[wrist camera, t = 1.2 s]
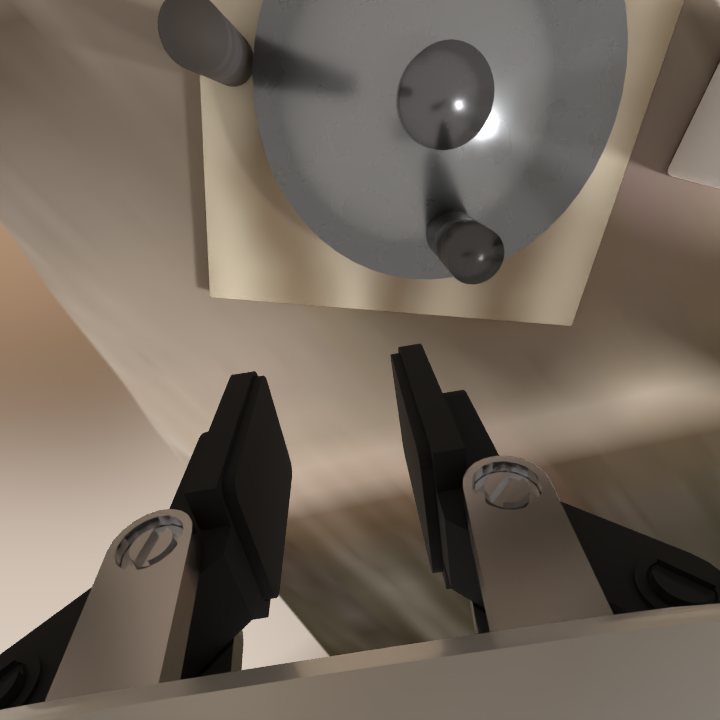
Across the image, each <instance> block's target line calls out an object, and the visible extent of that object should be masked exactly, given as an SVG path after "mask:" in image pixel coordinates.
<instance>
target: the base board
mask: <svg viewBox="0 0 720 720" xmlns="http://www.w3.org/2000/svg"><path fill="white" fill-rule="evenodd" d="M262 3H263V0H165V2H164V3H163V5H162V7H161V9H160V12H159V16H158V30H159V36H160V39H161V42H162V44H163V46H164V48H165V50H166V52H167V53H168V54H169V56H170V57H171V58H172V59H173V60H174V61H175V62H176V63H177V64H179V65H180V66H182V67H184V68H186V69H188V70H191V71H193V72H195V73H198V74H200V91H201V113H202V135H203V157H204V178H205V200H206V222H207V244H208V266H209V287H210V297H215V298H228V299H240V300H253V301H265V302H278V303H290V304H303V305H315V306H328V307H340V308H353V309H365V310H378V311H391V312H403V313H416V314H428V315H441V316H453V317H466V318H478V319H491V320H503V321H516V322H528V323H541V324H553V325H566V326H572V323H573V320H574V318H575V315H576V312H577V309H578V306H579V303H580V300H581V297H582V294H583V292H584V289H585V286H586V283H587V280H588V277H589V274H590V271H591V268H592V266H593V263H594V260H595V257H596V254H597V251H598V248H599V245H600V242H601V240H602V237H603V234H604V231H605V228H606V225H607V222H608V219H609V216H610V214H611V211H612V208H613V205H614V202H615V199H616V196H617V193H618V190H619V188H620V185H621V182H622V179H623V176H624V173H625V170H626V167H627V164H628V162H629V159H630V156H631V153H632V150H633V147H634V144H635V141H636V138H637V136H638V133H639V130H640V127H641V124H642V121H643V118H644V115H645V112H646V110H647V107H648V104H649V101H650V98H651V95H652V92H653V89H654V86H655V84H656V81H657V78H658V75H659V72H660V69H661V66H662V63H663V60H664V58H665V55H666V52H667V49H668V46H669V43H670V40H671V37H672V34H673V32H674V29H675V26H676V23H677V20H678V17H679V14H680V11H681V9H682V6H683V3H684V0H625V4H626V14H627V29H628V49H627V67H626V74H625V80H624V87H623V93H622V97H621V101H620V105H619V109H618V113H617V116H616V120H615V123H614V126H613V128H612V131H611V134H610V136H609V139H608V142H607V144H606V147H605V149H604V151H603V153H602V155H601V157H600V159H599V161H598V163H597V165H596V167H595V169H594V171H593V173H592V174H591V176H590V177H589V179H588V180H587V182H586V184H585V185H584V187H583V188H582V190H581V191H580V193H579V194H578V195H577V197H576V198H575V199H574V200H573V202H572V203H571V204H570V206H569V207H568V208H567V209H566V211H565V212H564V213H563V214H562V215H561V216H560V217H559V218H558V219H557V220H556V221H555V222H554V223H553V224H552V225H551V226H550V227H549V228H548V229H547V230H546V231H545V232H543V233H542V234H541V235H540V236H539V237H537V238H536V239H535V240H534V241H533V242H531V243H530V244H529V245H527V246H526V247H524V248H523V249H521V250H519V251H518V252H516V253H515V254H513V255H512V256H510V257H508V258H506V259H504V260H503V263H502V265H501V267H500V269H499V270H498V272H497V273H496V274H495V275H494V276H493V277H492V278H490V279H489V280H487V281H485V282H483V283H480V284H474V285H472V284H465V283H462V282H460V281H458V280H457V279H456V278H455V277H451V278H442V279H408V278H402V277H395V276H390V275H387V274H383V273H380V272H377V271H373V270H371V269H368V268H366V267H364V266H362V265H359V264H357V263H355V262H353V261H351V260H350V259H348V258H346V257H345V256H343V255H341V254H340V253H338V252H336V251H335V250H334V249H332V248H331V247H330V246H329V245H327V244H326V243H325V242H324V241H323V240H321V239H320V238H319V237H318V236H317V235H316V234H315V233H314V232H313V231H312V230H311V229H310V228H309V227H308V226H307V225H306V224H305V223H304V222H303V221H302V219H301V218H300V217H299V215H298V214H297V213H296V211H295V210H294V209H293V207H292V206H291V205H290V203H289V202H288V200H287V198H286V197H285V195H284V193H283V191H282V190H281V188H280V186H279V184H278V183H277V181H276V179H275V176H274V174H273V172H272V169H271V167H270V164H269V162H268V160H267V157H266V154H265V151H264V147H263V144H262V140H261V137H260V134H259V130H258V124H257V118H256V112H255V106H254V95H253V77H252V71H253V54H254V41H255V36H256V30H257V24H258V18H259V13H260V9H261V6H262Z"/></svg>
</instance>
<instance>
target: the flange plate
mask: <svg viewBox="0 0 720 720" xmlns="http://www.w3.org/2000/svg"><path fill="white" fill-rule="evenodd" d="M627 49H628V29H627V14H626V4H625V0H263V3H262V6H261V9H260V13H259V18H258V24H257V30H256V36H255V41H254V54H253V71H252V77H253V95H254V106H255V112H256V118H257V124H258V130H259V134H260V137H261V140H262V144H263V147H264V151H265V154H266V157H267V160H268V162H269V164H270V167H271V169H272V172H273V174H274V176H275V179H276V181H277V183H278V184H279V186H280V188H281V190H282V191H283V193H284V195H285V197H286V198H287V200H288V202H289V203H290V205H291V206H292V207H293V209H294V210H295V211H296V213H297V214H298V215H299V217H300V218H301V219H302V221H303V222H304V223H305V224H306V225H307V226H308V227H309V228H310V229H311V230H312V231H313V232H314V233H315V234H316V235H317V236H318V237H319V238H320V239H321V240H323V241H324V242H325V243H326V244H327V245H329V246H330V247H331V248H332V249H334V250H335V251H336V252H338V253H340V254H341V255H343V256H345V257H346V258H348V259H350V260H351V261H353V262H355V263H357V264H359V265H362V266H364V267H366V268H368V269H371V270H373V271H377V272H380V273H383V274H387V275H390V276H395V277H402V278H408V279H442V278H451V277H455V278H456V279H457V280H458V281H460V282H462V283H465V284H472V285H474V284H480V283H483V282H485V281H487V280H489V279H490V278H492V277H493V276H494V275H495V274H496V273H497V272H498V270H499V269H500V267H501V265H502V263H503V260H504V259H506V258H508V257H510V256H512V255H513V254H515V253H516V252H518V251H519V250H521V249H523V248H524V247H526V246H527V245H529V244H530V243H531V242H533V241H534V240H535V239H536V238H537V237H539V236H540V235H541V234H542V233H543V232H545V231H546V230H547V229H548V228H549V227H550V226H551V225H552V224H553V223H554V222H555V221H556V220H557V219H558V218H559V217H560V216H561V215H562V214H563V213H564V212H565V211H566V209H567V208H568V207H569V206H570V204H571V203H572V202H573V200H574V199H575V198H576V197H577V195H578V194H579V193H580V191H581V190H582V188H583V187H584V185H585V184H586V182H587V180H588V179H589V177H590V176H591V174H592V173H593V171H594V169H595V167H596V165H597V163H598V161H599V159H600V157H601V155H602V153H603V151H604V149H605V147H606V144H607V142H608V139H609V136H610V134H611V131H612V128H613V126H614V123H615V120H616V116H617V113H618V109H619V105H620V101H621V97H622V93H623V87H624V80H625V74H626V67H627Z"/></svg>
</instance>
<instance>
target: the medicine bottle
mask: <svg viewBox="0 0 720 720" xmlns="http://www.w3.org/2000/svg"><path fill="white" fill-rule="evenodd" d="M667 172H668V174H669V175H670V176H672V177H676V178H679V179H683V180H687V181H691V182H695V183H699V184H702V185H706V186H710V187H714V188H718V189H720V63H719V65H718V67H717V69H716V71H715V73H714V75H713V77H712V79H711V81H710V83H709V85H708V87H707V89H706V91H705V94H704V96H703V98H702V100H701V102H700V104H699V106H698V108H697V110H696V112H695V114H694V116H693V118H692V120H691V122H690V124H689V126H688V129H687V131H686V133H685V135H684V137H683V139H682V141H681V143H680V145H679V147H678V149H677V151H676V153H675V155H674V157H673V159H672V162H671V164H670V166H669V168H668V171H667Z"/></svg>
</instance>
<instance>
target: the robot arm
mask: <svg viewBox="0 0 720 720" xmlns="http://www.w3.org/2000/svg"><path fill="white" fill-rule="evenodd" d="M398 351H399V353H397V354H391V362H392V369H393V377H394V384H395V391H396V398H397V405H398V412H399V420H400V427H401V434H402V441H403V448H404V453H405V458H406V462H407V467H408V471H409V475H410V480H411V484H412V488H413V493H414V497H415V501H416V506H417V510H418V514H419V519H420V523H421V527H422V532H423V536H424V540H425V545H426V549H427V553H428V557H429V562H430V566H431V570H432V573H437V572H442V573H443V577H444V581H445V585H446V589H450V588H451V589H453V590H455V591H456V592H458V593H459V594H461V595H463V596H464V597H466V598H468V599H469V600H470V604H471V611H472V616H473V621H474V627H475V632H476V635H469V636H462V637H456V638H449V639H442V640H436V641H429V642H422V643H416V644H409V645H402V646H396V647H389V648H383V649H376V650H370V651H363V652H357V653H350V654H344V655H337V656H331V657H325V658H318V659H311V660H305V661H299V662H292V663H286V664H279V665H273V666H266V667H260V668H254V669H247V670H241V668H242V653H243V632H242V629H243V628H244V627H245V626H246V625H247V624H248V623H249V622H250V621H251V620H253V619H259V618H266V617H268V615H269V607H270V599H272V598H277V597H278V595H279V591H280V582H281V573H282V563H283V554H284V545H285V536H286V526H287V517H288V508H289V499H290V489H291V480H292V467H291V462H290V458H289V454H288V451H287V448H286V444H285V441H284V437H283V434H282V430H281V427H280V424H279V420H278V417H277V413H276V410H275V407H274V403H273V400H272V396H271V393H270V389H269V386H268V383H267V380H266V377H265V376H259V377H258V375H257V373H256V372H255V371H253V372H247V373H241V374H235V375H231V377H230V379H229V381H228V384H227V386H226V389H225V391H224V394H223V396H222V399H221V401H220V404H219V406H218V409H217V411H216V414H215V416H214V419H213V421H212V424H211V426H210V429H209V431H208V432H205V433H203V434H202V435H201V436H200V438H199V440H198V442H197V445H196V447H195V450H194V452H193V454H192V457H191V459H190V461H189V464H188V466H187V469H186V471H185V473H184V476H183V478H182V480H181V483H180V485H179V487H178V490H177V492H176V495H175V497H174V499H173V502H172V504H171V506H170V509H167V510H159V511H156V512H153V513H151V514H147V515H145V516H143V517H142V518H140V519H138V520H136V521H134V522H133V523H132V524H130V525H129V526H128V527H127V528H125V529H124V530H123V531H122V532H121V533H120V534H119V535H118V536H117V537H116V538H115V539H114V541H113V542H112V544H111V545H110V547H109V549H108V551H107V553H106V555H105V558H104V560H103V563H102V565H101V567H100V569H99V572H98V575H97V577H96V579H95V582H94V584H93V586H92V588H90V589H89V590H88V591H86V592H85V593H83V594H82V595H81V596H79V597H78V598H77V599H75V600H74V601H73V602H71V603H70V604H68V605H67V606H66V607H64V608H63V609H62V610H60V611H59V612H57V613H56V614H55V615H53V616H52V617H51V618H49V619H48V620H47V621H45V622H44V623H43V624H41V625H40V626H39V627H37V628H36V629H34V630H33V631H32V632H30V633H29V634H28V635H26V636H25V637H24V638H22V639H21V640H19V641H18V642H17V643H16V644H14V645H13V646H11V647H10V648H8V649H7V650H6V651H4V652H3V653H2V654H0V720H720V571H719V570H718V569H717V568H715V567H714V566H713V565H711V564H710V563H709V562H707V561H705V560H703V559H701V558H699V557H697V556H695V555H693V554H691V553H689V552H686V551H684V550H681V549H679V548H676V547H674V546H671V545H669V544H666V543H664V542H661V541H659V540H656V539H653V538H651V537H648V536H646V535H643V534H641V533H638V532H636V531H633V530H631V529H628V528H626V527H623V526H621V525H618V524H616V523H613V522H611V521H608V520H606V519H603V518H601V517H598V516H596V515H593V514H591V513H588V512H586V511H583V510H581V509H578V508H576V507H573V506H571V505H568V504H566V503H563V502H561V501H560V500H559V498H558V496H557V493H556V491H555V489H554V487H553V485H552V483H551V481H550V479H549V478H548V476H547V475H546V474H545V472H544V471H543V470H542V469H540V468H539V467H538V466H536V465H535V464H533V463H531V462H529V461H526V460H524V459H521V458H517V457H512V456H499V455H498V453H497V451H496V449H495V447H494V445H493V443H492V441H491V439H490V437H489V435H488V433H487V432H486V430H485V428H484V426H483V424H482V422H481V420H480V418H479V416H478V414H477V412H476V410H475V408H474V406H473V405H472V403H471V401H470V399H469V397H468V395H467V393H466V392H465V391H464V390H459V391H453V392H447V393H442V391H441V389H440V386H439V384H438V382H437V379H436V377H435V375H434V372H433V370H432V368H431V365H430V363H429V361H428V358H427V356H426V354H425V351H424V349H423V347H422V345H421V344H415V345H409V346H403V347H398Z"/></svg>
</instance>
